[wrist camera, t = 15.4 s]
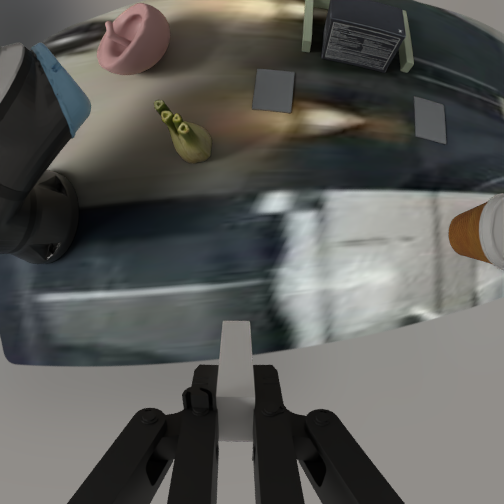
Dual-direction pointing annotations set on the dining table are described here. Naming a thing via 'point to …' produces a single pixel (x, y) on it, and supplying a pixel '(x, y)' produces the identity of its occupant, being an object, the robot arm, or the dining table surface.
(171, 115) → the fennel bulb
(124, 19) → the mortar and pestle
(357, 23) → the small box
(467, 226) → the disposable coffee cup
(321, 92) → the dining table surface
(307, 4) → the track
